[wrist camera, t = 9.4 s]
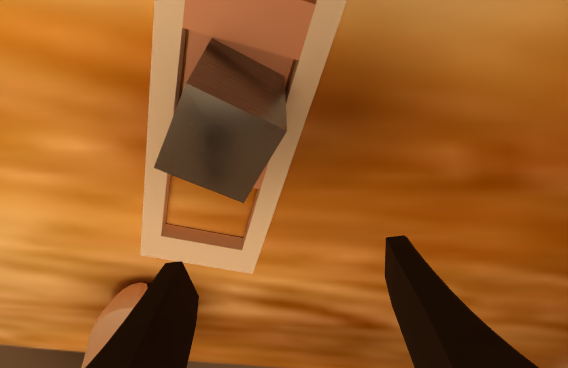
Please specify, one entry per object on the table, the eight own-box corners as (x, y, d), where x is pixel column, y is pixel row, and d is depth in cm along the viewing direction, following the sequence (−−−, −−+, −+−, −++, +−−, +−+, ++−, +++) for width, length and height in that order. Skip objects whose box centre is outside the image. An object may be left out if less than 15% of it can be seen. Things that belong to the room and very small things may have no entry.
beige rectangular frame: (419, -232, 12) (431, -244, 11) (253, 261, 27) (252, 273, 26) (184, -338, 11) (175, -364, 10) (145, 242, 26) (140, 255, 25)
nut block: (284, 75, 18) (286, 130, 13) (251, 136, 20) (243, 202, 16) (211, 37, 17) (185, 83, 12) (184, 106, 19) (153, 167, 14)
